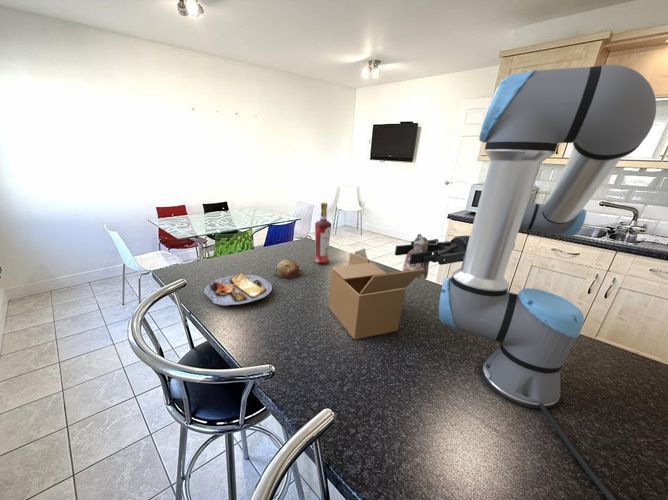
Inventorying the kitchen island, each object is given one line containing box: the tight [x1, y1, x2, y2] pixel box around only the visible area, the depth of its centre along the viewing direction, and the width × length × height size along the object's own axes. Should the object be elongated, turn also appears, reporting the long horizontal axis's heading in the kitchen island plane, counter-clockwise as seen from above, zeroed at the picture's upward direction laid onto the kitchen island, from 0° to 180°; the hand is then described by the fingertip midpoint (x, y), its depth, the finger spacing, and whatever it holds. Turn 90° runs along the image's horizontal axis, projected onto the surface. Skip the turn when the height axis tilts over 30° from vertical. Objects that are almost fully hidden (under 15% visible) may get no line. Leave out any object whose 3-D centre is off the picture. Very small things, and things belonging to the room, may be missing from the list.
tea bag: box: [354, 248, 368, 258], centre depth 129 cm, size 4×7×10 cm, turn 135°
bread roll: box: [275, 259, 300, 279], centre depth 126 cm, size 10×10×8 cm
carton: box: [328, 262, 406, 340], centre depth 93 cm, size 19×15×15 cm
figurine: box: [401, 233, 430, 281], centre depth 84 cm, size 7×7×12 cm
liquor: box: [313, 202, 332, 265], centre depth 134 cm, size 7×7×28 cm
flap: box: [360, 269, 424, 294], centre depth 78 cm, size 9×15×1 cm
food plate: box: [203, 271, 273, 306], centre depth 110 cm, size 25×23×4 cm
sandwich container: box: [348, 252, 372, 265], centre depth 114 cm, size 9×15×15 cm, turn 131°
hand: (403, 254), depth 82 cm, fingers closed on figurine, 6 cm apart
